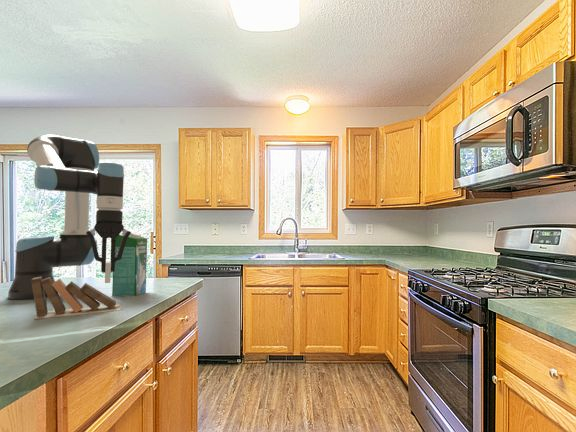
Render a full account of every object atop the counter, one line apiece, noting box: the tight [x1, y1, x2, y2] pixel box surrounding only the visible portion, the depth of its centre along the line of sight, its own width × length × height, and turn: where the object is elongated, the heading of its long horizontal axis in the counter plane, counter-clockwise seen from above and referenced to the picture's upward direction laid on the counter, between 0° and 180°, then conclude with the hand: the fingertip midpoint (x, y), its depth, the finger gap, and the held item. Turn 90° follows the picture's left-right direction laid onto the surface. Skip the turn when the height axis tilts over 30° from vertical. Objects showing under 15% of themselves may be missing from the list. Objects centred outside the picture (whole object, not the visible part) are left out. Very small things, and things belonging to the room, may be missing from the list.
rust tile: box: [52, 278, 84, 313], centre depth 99 cm, size 4×2×11 cm
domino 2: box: [41, 277, 67, 315], centre depth 97 cm, size 4×2×11 cm, turn 31°
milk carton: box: [111, 232, 148, 297], centre depth 128 cm, size 9×9×25 cm
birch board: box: [33, 303, 122, 320], centre depth 101 cm, size 9×22×1 cm, turn 121°
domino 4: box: [80, 282, 117, 309], centre depth 103 cm, size 4×2×11 cm
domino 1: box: [31, 276, 49, 317], centre depth 95 cm, size 4×2×11 cm, turn 31°
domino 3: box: [65, 281, 101, 311], centre depth 101 cm, size 4×2×11 cm
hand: (107, 282), depth 105 cm, fingers closed
